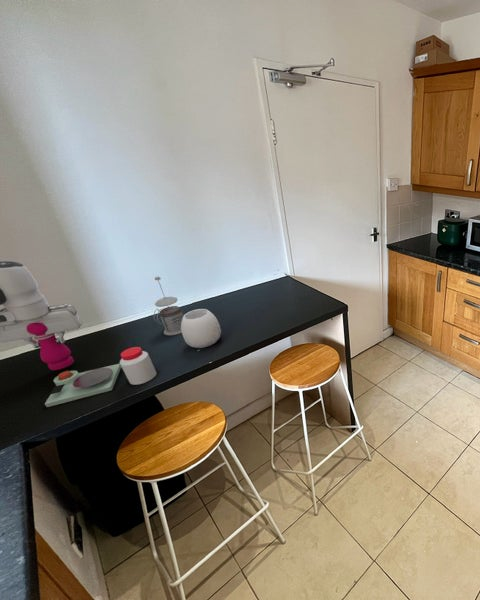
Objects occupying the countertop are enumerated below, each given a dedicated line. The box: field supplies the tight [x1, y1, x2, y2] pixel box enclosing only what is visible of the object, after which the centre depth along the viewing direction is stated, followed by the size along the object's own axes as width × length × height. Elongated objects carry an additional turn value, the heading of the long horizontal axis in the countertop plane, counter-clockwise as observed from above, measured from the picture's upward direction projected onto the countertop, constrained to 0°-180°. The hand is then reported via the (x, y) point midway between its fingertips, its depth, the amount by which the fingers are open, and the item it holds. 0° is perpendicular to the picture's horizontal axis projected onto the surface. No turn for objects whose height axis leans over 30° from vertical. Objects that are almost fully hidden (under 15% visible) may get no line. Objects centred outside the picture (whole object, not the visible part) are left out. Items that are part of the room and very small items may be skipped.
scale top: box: [49, 367, 113, 396], centre depth 104 cm, size 15×10×1 cm
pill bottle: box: [119, 346, 157, 386], centre depth 107 cm, size 8×8×11 cm
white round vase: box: [181, 308, 222, 349], centre depth 125 cm, size 13×13×14 cm
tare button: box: [57, 370, 72, 380], centre depth 105 cm, size 3×3×2 cm
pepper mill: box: [27, 323, 75, 371], centre depth 107 cm, size 7×7×20 cm
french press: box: [153, 276, 184, 336], centre depth 131 cm, size 10×12×25 cm
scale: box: [44, 363, 122, 408], centre depth 105 cm, size 16×14×3 cm
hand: (50, 344), depth 108 cm, fingers closed on pepper mill, 4 cm apart
